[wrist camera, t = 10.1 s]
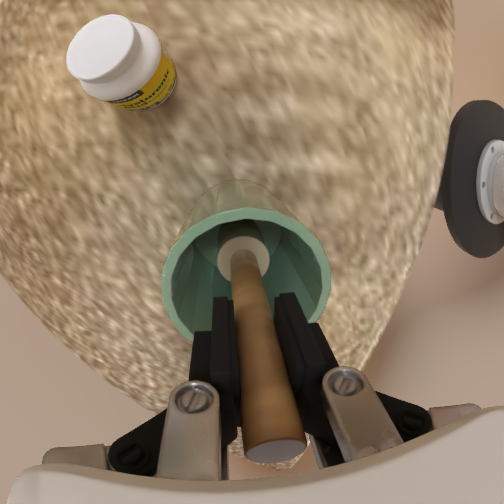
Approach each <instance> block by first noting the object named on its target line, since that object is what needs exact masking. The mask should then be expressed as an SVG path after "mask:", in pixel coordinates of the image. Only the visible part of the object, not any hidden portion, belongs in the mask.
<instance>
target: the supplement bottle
mask: <svg viewBox="0 0 504 504" xmlns="http://www.w3.org/2000/svg"><path fill="white" fill-rule="evenodd" d="M66 63H67V68H68V70H69V72H70V73H71V74H72V75H73V76H74V77H75V78H77V79H79V81H80V84H81V86H82V87H83V89H84V90H85V91H86V92H87V93H88V94H89V95H91V96H92V97H94V98H96V99H99V100H102V101H105V102H108V103H111V104H113V105H116V106H119V107H122V108H125V109H128V110H131V111H146V110H150V109H153V108H155V107H157V106H158V105H160V104H161V103H163V102H164V101H165V100H166V99H167V98H168V97H169V96H170V94H171V93H172V91H173V89H174V86H175V83H176V69H175V66H174V64H173V62H172V60H171V59H170V57H169V55H168V53H167V52H166V50H165V48H164V47H163V45H162V44H161V42H160V40H159V39H158V37H157V36H156V34H155V33H154V32H153V31H152V30H151V29H150V28H148V27H147V26H145V25H143V24H140V23H135V22H131V21H130V20H129V19H127V18H126V17H124V16H121V15H115V14H111V15H105V16H101V17H99V18H96V19H94V20H92V21H91V22H89V23H88V24H86V25H85V26H84V27H83V28H82V29H81V30H80V31H79V32H78V33H77V34H76V35H75V37H74V38H73V40H72V41H71V43H70V46H69V48H68V51H67V56H66Z"/></svg>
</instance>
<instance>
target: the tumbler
mask: <svg viewBox="0 0 504 504" xmlns="http://www.w3.org/2000/svg"><path fill="white" fill-rule="evenodd" d="M242 219H252V220H253V221H254V222H255V223H256V224H257V225H258V227H259V230H260V232H261V235H262V237H263V239H264V242H265V244H266V247H267V249H268V252H269V256H270V263H269V267H268V269H267V271H266V273H265V274H264V275H263V276H262V280H263V283H264V287H265V291H266V294H267V298H268V301H269V305H270V309H271V312H272V316H273V319H274V298H275V297H279V294H280V293H288V292H294V293H295V295H296V297H297V299H298V301H299V303H300V306H301V308H302V310H303V312H304V314H305V317H306V319H307V321H308V323H315V322H317V321H318V319H319V318H320V316H321V315H322V313H323V312H324V310H325V308H326V304H327V301H328V298H329V294H330V291H331V272H330V263H329V261H328V258H327V256H326V254H325V251H324V249H323V247H322V245H321V243H320V241H319V240H318V239H317V238H316V237H315V236H314V235H313V234H312V233H311V232H310V231H309V230H308V229H307V228H306V227H305V226H304V225H303V224H302V223H301V222H300V221H299V220H298V219H297V218H296V217H295V216H294V215H293V214H292V213H291V212H290V211H289V210H288V209H287V208H286V207H285V206H284V205H283V204H282V203H281V202H280V201H279V200H278V199H277V198H276V197H275V196H274V195H273V194H272V193H271V192H270V191H269V190H268V189H267V188H264V187H263V186H261V185H259V184H257V183H254V182H251V181H246V180H229V181H225V182H221V183H219V184H217V185H214V186H213V187H211V188H209V189H208V190H207V191H206V192H204V193H203V194H202V195H201V196H200V197H199V199H198V200H197V201H196V202H195V204H194V206H193V207H192V209H191V211H190V213H189V215H188V217H187V219H186V220H185V222H184V224H183V226H182V228H181V230H180V232H179V234H178V236H177V238H176V240H175V242H174V244H173V246H172V248H171V250H170V252H169V254H168V257H167V260H166V262H165V265H164V268H163V271H162V275H161V293H162V301H163V303H164V306H165V308H166V311H167V314H168V316H169V319H170V320H171V322H172V323H173V324H174V325H175V327H176V328H177V329H178V330H179V331H180V333H181V334H182V335H183V336H184V337H185V338H186V339H188V340H189V341H191V342H192V343H193V339H194V332H195V331H212V312H213V297H226V296H228V300H232V288H231V282H230V281H228V280H227V279H225V278H224V277H223V276H222V274H221V273H220V271H219V269H218V266H217V249H218V235H219V230H220V227H221V226H222V224H223V223H227V222H232V221H237V220H242Z"/></svg>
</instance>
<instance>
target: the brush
mask: <svg viewBox="0 0 504 504" xmlns="http://www.w3.org/2000/svg"><path fill="white" fill-rule="evenodd" d="M269 263H270V256H269V252H268V249H267V247H266V244H265V242H264V239H263V237H262V235H261V232H260V230H259V227H258V225H257V224H256V223H255V222H254V221H253V220H252V219H242V220H237V221H232V222H227V223H223V224H222V226H221V227H220V230H219V235H218V249H217V266H218V269H219V271H220V273H221V274H222V276H223V277H224V278H225V279H227V280H228V281H230V282H231V288H232V300H233V302H234V317H235V331H236V345H237V358H238V370H239V383H240V396H241V400H240V404H239V406H240V418H241V429H242V440H243V451H244V455H245V456H246V458H247V459H249V460H251V461H253V462H258V463H276V462H281V461H286V460H289V459H292V458H294V457H296V456H298V455H300V454H301V453H302V452H304V451H305V449H306V447H307V439H306V436H305V432H304V428H303V425H302V421H301V417H300V414H299V410H298V406H297V403H296V399H295V396H294V393H293V389H292V385H291V382H290V378H289V375H288V371H287V367H286V364H285V360H284V356H283V353H282V349H281V345H280V342H279V338H278V334H277V331H276V327H275V324H274V319H273V316H272V312H271V309H270V305H269V301H268V298H267V294H266V291H265V287H264V283H263V280H262V276H263V275H264V274H265V273H266V271H267V269H268V267H269Z"/></svg>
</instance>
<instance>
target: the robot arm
mask: <svg viewBox="0 0 504 504" xmlns="http://www.w3.org/2000/svg"><path fill="white" fill-rule="evenodd" d="M476 192H477V200H478V205H479V208H480V211H481V213H482V215H483V217H484V218H485V219H486V220H487V221H488V222H491V223H493V224H499V223H502V222H503V221H504V141H502V140H495V139H494V140H491V141H490V142H488V143H487V145H486V146H485V147H484V149H483V151H482V153H481V156H480V159H479V163H478V168H477V176H476ZM274 324H275V327H276V331H277V334H278V338H279V342H280V345H281V349H282V353H283V356H284V360H285V364H286V367H287V371H288V375H289V378H290V382H291V385H292V389H293V393H294V396H295V399H296V403H297V406H298V410H299V414H300V417H301V421H302V425H303V428H304V432H306V433H308V434H309V439H310V442H311V446H312V449H313V452H314V455H315V458H316V461H317V464H318V467H319V469H318V470H313V471H308V472H303V473H297V474H291V475H284V476H276V477H268V478H259V479H245V480H229V447H228V445H229V444H230V443H231V442H232V441H234V440H235V439H236V438H237V435H238V433H237V427H241V418H240V406H239V404H240V400H241V396H240V383H239V370H238V358H237V345H236V331H235V317H234V302H233V300H228V296H226V297H213V312H212V331H195V332H194V339H193V347H192V355H191V364H190V373H189V381H187V382H184V383H181V384H180V385H178V386H177V387H175V388H174V390H173V391H172V392H171V394H170V397H169V402H168V407H167V409H165V410H164V411H162V412H161V413H159V414H158V415H156V416H155V417H153V418H152V419H150V420H148V421H147V422H145V423H144V424H142V425H140V426H139V427H137V428H135V429H134V430H133V431H131V432H129V433H127V434H125V435H124V436H122V437H120V438H119V439H117V440H116V441H115V442H114V443H113V444H112V445H111V446H105V445H104V444H97V445H87V446H76V447H58V448H52V449H50V450H49V451H47V452H46V453H45V455H44V456H43V461H42V464H41V465H37V466H32V467H29V468H27V469H25V470H24V471H23V472H22V473H21V474H20V475H19V476H18V478H17V479H16V481H15V483H14V485H13V487H12V489H11V491H10V494H9V497H8V500H7V503H6V504H504V406H495V407H488V408H484V409H481V408H480V407H479V406H478V405H475V404H462V405H454V406H444V407H434V408H429V410H428V411H426V410H425V409H424V408H422V407H420V406H417V405H414V404H411V403H408V402H405V401H402V400H399V399H396V398H393V397H390V396H388V395H385V394H382V393H380V392H377V391H374V389H373V388H372V386H371V384H370V382H369V381H368V379H367V377H366V376H365V375H364V374H363V373H362V372H361V371H359V370H358V369H355V368H352V367H346V366H342V367H339V365H338V363H337V361H336V359H335V357H334V354H333V352H332V350H331V348H330V346H329V344H328V342H327V340H326V338H325V336H324V334H323V332H322V330H321V328H320V326H319V324H318V323H316V322H315V323H308V321H307V319H306V317H305V314H304V312H303V310H302V308H301V306H300V303H299V301H298V299H297V297H296V295H295V293H294V292H288V293H280V294H279V297H275V298H274Z"/></svg>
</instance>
